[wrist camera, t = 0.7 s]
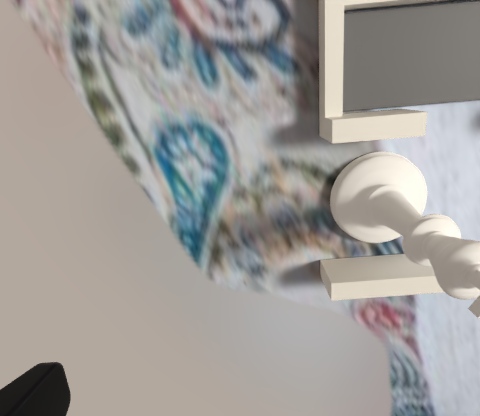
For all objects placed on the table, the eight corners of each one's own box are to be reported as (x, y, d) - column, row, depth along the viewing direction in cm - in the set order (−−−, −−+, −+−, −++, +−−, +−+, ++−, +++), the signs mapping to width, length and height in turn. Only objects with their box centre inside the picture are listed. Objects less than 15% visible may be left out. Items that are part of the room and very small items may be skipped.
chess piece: (312, 216, 19) (388, 346, 9) (362, 134, 17) (511, 189, 8) (387, 252, 19) (529, 407, 10) (441, 177, 18) (664, 273, 9)
